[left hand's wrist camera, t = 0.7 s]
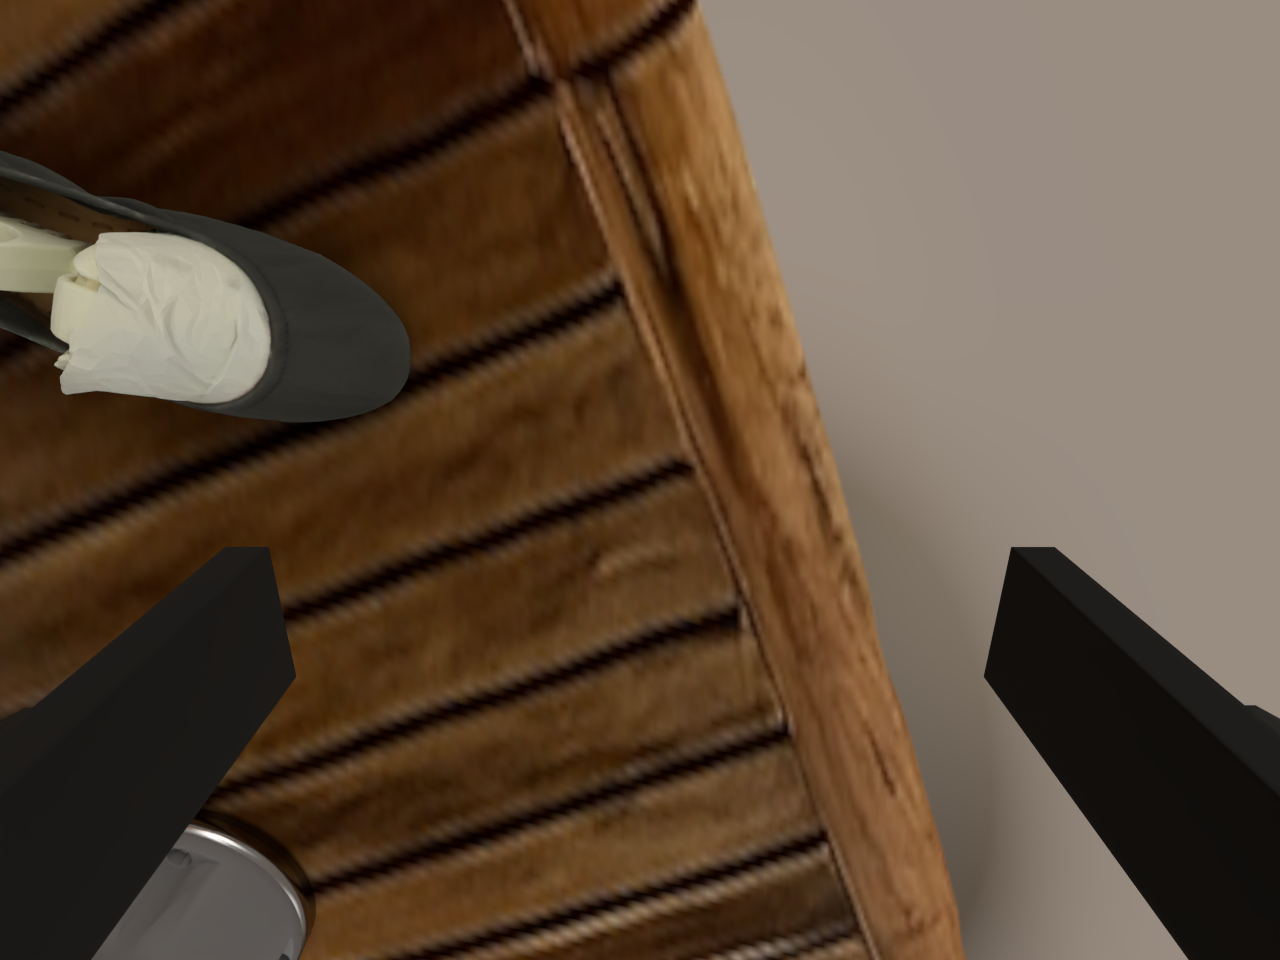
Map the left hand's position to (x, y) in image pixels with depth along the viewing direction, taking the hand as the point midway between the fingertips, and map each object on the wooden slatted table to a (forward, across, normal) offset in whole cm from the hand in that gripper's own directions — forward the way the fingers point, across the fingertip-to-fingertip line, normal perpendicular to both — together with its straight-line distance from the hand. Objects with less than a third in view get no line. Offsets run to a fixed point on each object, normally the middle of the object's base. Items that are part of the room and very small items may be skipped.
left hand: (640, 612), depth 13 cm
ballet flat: (+21, +22, -4) cm, 30 cm away
